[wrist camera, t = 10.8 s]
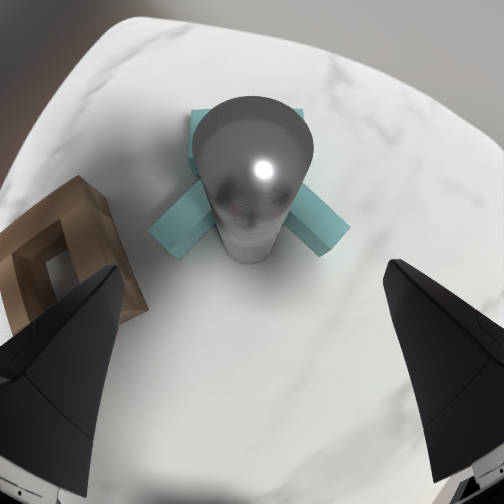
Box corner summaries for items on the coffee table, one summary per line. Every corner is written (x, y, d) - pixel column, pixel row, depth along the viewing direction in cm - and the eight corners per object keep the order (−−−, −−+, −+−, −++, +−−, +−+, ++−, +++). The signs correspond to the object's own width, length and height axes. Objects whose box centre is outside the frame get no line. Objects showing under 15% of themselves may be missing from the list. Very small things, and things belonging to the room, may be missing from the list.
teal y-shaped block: (338, 256, 21) (352, 249, 18) (159, 260, 20) (146, 252, 18) (324, 131, 23) (333, 111, 20) (169, 133, 22) (160, 113, 19)
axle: (283, 235, 21) (335, 137, 8) (252, 274, 20) (263, 223, 8) (244, 205, 21) (244, 80, 8) (213, 242, 21) (167, 151, 8)
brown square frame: (148, 309, 20) (124, 310, 15) (56, 355, 19) (23, 363, 14) (105, 197, 21) (78, 175, 17) (23, 251, 20) (-9, 241, 16)
